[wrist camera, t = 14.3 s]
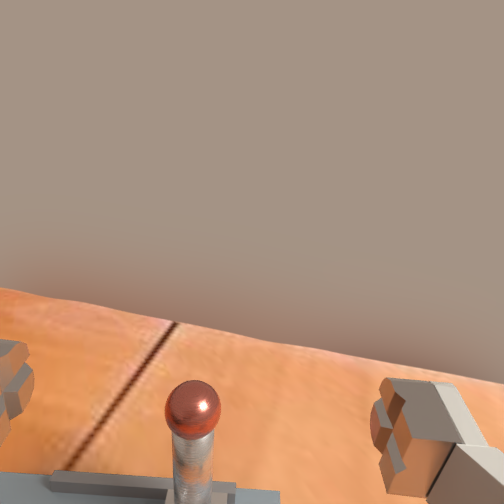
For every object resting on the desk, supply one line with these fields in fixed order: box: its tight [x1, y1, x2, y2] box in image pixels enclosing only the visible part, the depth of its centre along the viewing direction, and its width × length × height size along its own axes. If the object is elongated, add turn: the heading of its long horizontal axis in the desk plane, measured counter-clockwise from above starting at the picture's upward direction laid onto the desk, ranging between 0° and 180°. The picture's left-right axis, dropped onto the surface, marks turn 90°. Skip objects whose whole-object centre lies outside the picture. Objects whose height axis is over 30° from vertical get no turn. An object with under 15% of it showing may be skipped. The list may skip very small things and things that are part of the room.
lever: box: [165, 380, 228, 504], centre depth 27 cm, size 9×6×16 cm
